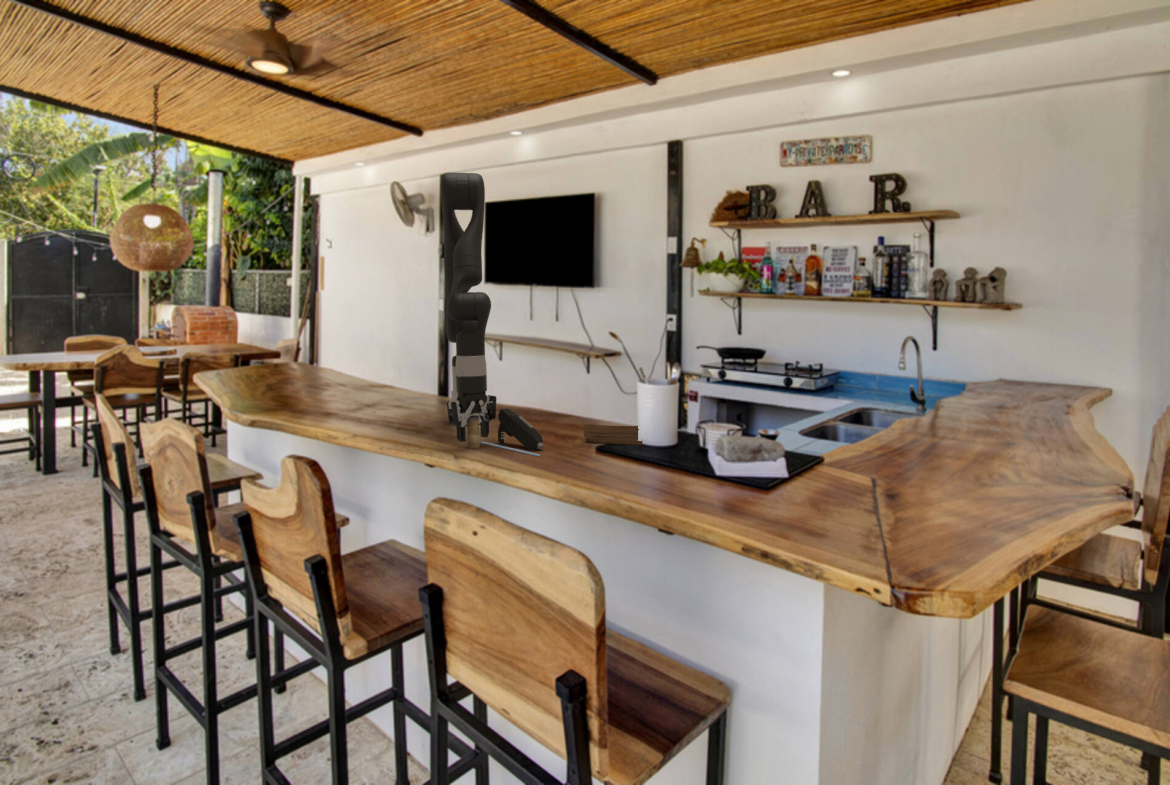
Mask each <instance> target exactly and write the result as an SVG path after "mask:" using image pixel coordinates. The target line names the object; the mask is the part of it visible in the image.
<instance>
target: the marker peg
mask: <svg viewBox="0 0 1170 785" xmlns="http://www.w3.org/2000/svg"><path fill="white" fill-rule="evenodd" d="M466 442H467V443H466V444H467V446H466V447H467V449H468V450H476V449H479V448H480V444H481V443H480V424H479V416H477V415H470V416H469V418H468V419H467V425H466Z"/></svg>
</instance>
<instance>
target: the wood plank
mask: <svg viewBox="0 0 1170 785" xmlns="http://www.w3.org/2000/svg"><path fill="white" fill-rule="evenodd" d="M638 426H639V425H607V424H606V425H603V424H593V423H592V424H591V423H589V424H588V423H587V424H586V423H584V424H583V437H584V441H585V442H592V443H600V444H610V445H629V446H643V440H642V441H637V440H638V430H639V429H638Z"/></svg>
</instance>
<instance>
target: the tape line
mask: <svg viewBox="0 0 1170 785" xmlns="http://www.w3.org/2000/svg"><path fill="white" fill-rule="evenodd" d="M479 444H483V445H487V446H490V447H491V446H492V447H496V448H500V449H505V450H508V451H512V452H513V451H514V452H518V453H522V454H527V455H531V456H535V457H541V456H542V455H541V454H539V453H535V452H531V451H526V450H523V449H518V448H512V447H508V446H505V445H501V444H496V443H492V442H487V441H481V442H480V441H479Z"/></svg>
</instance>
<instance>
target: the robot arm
mask: <svg viewBox="0 0 1170 785" xmlns="http://www.w3.org/2000/svg"><path fill="white" fill-rule="evenodd" d="M440 178H441V179H440V188H439V189H440V200H441V209H442V210H441V211H442V212H441V213H442V221H443V222H442V223H443V234H444V235H443V239H444V240H443V241H444V242H443V243H444V244H443V245H444V246H443V250H444V251H443V260H444V262H443V263H444V279H445V292H446V293H445V294H446V296H445V297H446V298H445V335H446V338H447V340H448V342H450V343H453V344H455V355H454V356H453V357H452V358H451V369H452V370H451V372H452V374H451V375H452V391H451V400H448V401H446V409H447V411H446V412H447V416H448V423H449V425H452V426H455V427H456V439H457V441H458V442H461V443H463V442H467V428H466V426H467V419H468V418H469V416H470V415H477V416H479V431H480V437H481V438H488V437H489V435H490V422H491V421H492V420H495V419H496V415H497V414H496V412H497V396H496V395H489V394H486V392H487V390H488V381H487V380H488V379H487V378H488V376H487V374H488V373H487V360H486V345H485V344H486V343H485V342H486V329H487V324H488V321H489V317H490V314H491V309H492V301H491V298H490V296H489V295H488V294H487V293H486V292H483V291H475V292H474V291H470V290H471V288H473V287H477V286H479V285H480V284H481V283H482V282H483V258H482V256H483V255H482V247H483V246H482V244H483V234H484V233H483V232H484V221H485V205H486V204H485V201H486V196H485V195H486V191H485V190H486V189H485V188H486V186H485V182H484V179H483V176H482V174H479V173H474V172H455V171H454V172H445V173H443V174H442V175H441V177H440ZM456 211H472V212H471V213H472V214H471V217H470V220H469V223H468V224H467V227H465V230H464V229H463V227H462V226H461V224H460V222H459V220H458V217H457V216H456ZM485 404H486V405H485Z"/></svg>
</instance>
